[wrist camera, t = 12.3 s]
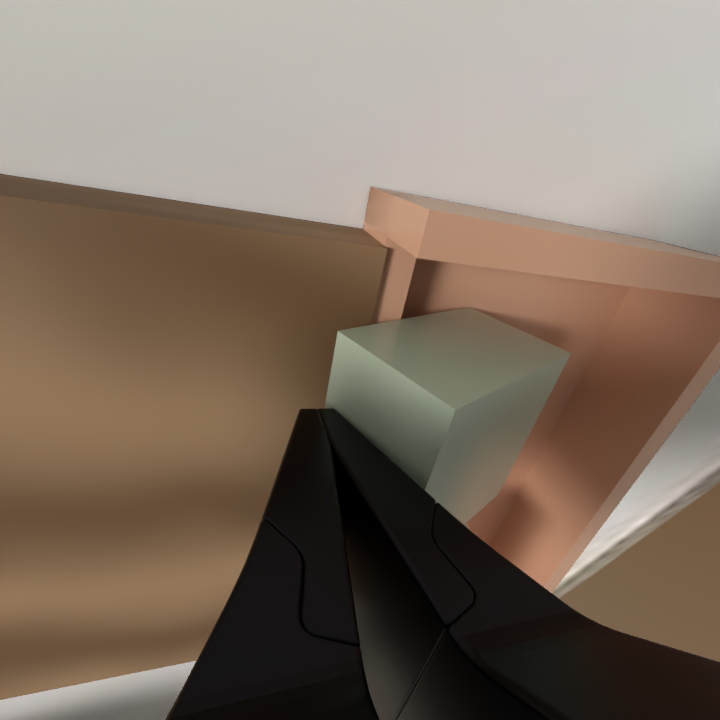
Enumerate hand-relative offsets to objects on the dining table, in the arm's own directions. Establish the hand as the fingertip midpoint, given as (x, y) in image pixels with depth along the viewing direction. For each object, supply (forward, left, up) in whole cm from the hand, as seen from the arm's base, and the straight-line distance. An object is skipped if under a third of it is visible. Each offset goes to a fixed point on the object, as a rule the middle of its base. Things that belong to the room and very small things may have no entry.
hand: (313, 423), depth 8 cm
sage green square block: (0, -3, -1) cm, 3 cm away
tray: (-4, -6, -3) cm, 8 cm away
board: (-4, +5, -3) cm, 7 cm away
